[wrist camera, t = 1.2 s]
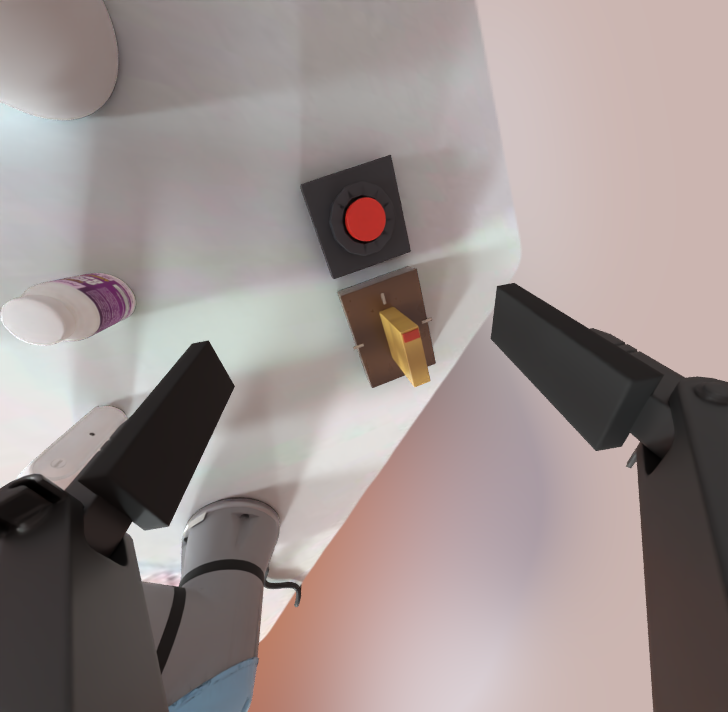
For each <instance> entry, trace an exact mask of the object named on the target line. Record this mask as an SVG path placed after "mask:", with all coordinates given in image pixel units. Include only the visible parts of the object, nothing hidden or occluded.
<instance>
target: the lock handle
mask: <svg viewBox="0 0 728 712" xmlns="http://www.w3.org/2000/svg"><path fill="white" fill-rule="evenodd" d="M379 313H380V317H381V320H382V324H383V327H384V331H385V334H386V338H387V341H388V345H389V348H390V352H391V355H392V358H393V359H394V361H395V362H396V363H397V365H398V366H399V367H400V369H401V370H402V371H403V373H404V374H405V375H406V377H407V378H408V379H409V381H410V382H411V383H412V385H413V386H414V387H417V386H419V385H422V384H424V383H427V382H429V381H430V376H429V372H428V367H427V363H426V358H425V354H424V349H423V345H422V340H421V336H420V331H419V327H418V325H417V324H415V323H414V322H413V321H411V320H410V319H409V318H408V317H406V316H405V315H404V314H402V313H401V312H400V311H399V310H397V309H396V308H395V307H391V308H388V309H386V310H383V311H380V312H379Z"/></svg>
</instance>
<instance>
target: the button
mask: <svg viewBox="0 0 728 712" xmlns="http://www.w3.org/2000/svg"><path fill="white" fill-rule="evenodd" d="M385 222H386V216H385V212H384V209H383V207H382V206H381V204H380V203H379V202H378V201H376V200H375V199H373V198H369V197H364V198H360V199H358V200H356V201H354V202H353V203H352V204H351V205H350V206H349V207H348V209H347V211H346V215H345V225H346V228H347V230H348V232H349V234H350V235H351V236H352V237H354V238H355V239H357V240H361V241H371V240H374V239H376V238H377V237H378V236H379V235H380V234H381V233H382V231H383V229H384V227H385Z"/></svg>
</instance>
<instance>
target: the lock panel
mask: <svg viewBox="0 0 728 712" xmlns="http://www.w3.org/2000/svg"><path fill="white" fill-rule="evenodd" d="M337 293H338V296H339V299H340V302H341V304H342V307H343V310H344V313H345V316H346V319H347V322H348V324H349V327H350V330H351V333H352V336H353V339H354V341H355V344H356V346H354V347H353V348H354V350H355V349H357V350H358V353H359V356H360V359H361V361H362V364H363V367H364V370H365V373H366V376H367V378H368V380H369V383H370V385H371V387H372V388H374V387H377V386H379V385H382V384H384V383H387V382H389V381H392V380H394V379H397V378H400V377H402V376H405V374H404V373H403V371H402V370H401V369H400V367H399V366H398V365H397V363H396V362H395V361H394V359H393V358H392V355H391V352H390V348H389V345H388V341H387V338H386V334H385V331H384V327H383V324H382V320H381V317H380V313H379V312H380V311H383V310H386V309H388V308H391V307H395V308H396V309H397V310H399V311H400V312H401V313H402V314H404V315H405V316H406V317H408V318H409V319H410V320H411V321H413V322H414V323H415V324H417V325H418V327H419V331H420V336H421V340H422V345H423V349H424V354H425V358H426V363H427V367H428V366H430V365H433V364H435V363H436V362H435V357H434V352H433V347H432V342H431V337H430V332H429V327H428V322H429V321H431V320H432V318H428V319H427V318H426V313H425V308H424V303H423V298H422V293H421V288H420V283H419V278H418V273H417V269H415V268H412V267H409V266H407V267H404V268H401V269H398V270H396V271H393V272H390V273H387V274H385V275H382V276H379V277H376V278H374V279H371V280H368V281H365V282H362V283H360V284H357V285H354V286H351V287H349V288H346V289H343V290H340V291H338V292H337Z"/></svg>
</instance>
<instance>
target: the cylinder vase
mask: <svg viewBox="0 0 728 712" xmlns="http://www.w3.org/2000/svg"><path fill="white" fill-rule="evenodd" d="M117 74H118V47H117V41H116V36H115V32H114V28H113V25H112V22H111V19H110V16H109V13H108V11H107V8H106V6H105V4H104V1H103V0H0V102H1V103H3V104H6V105H8V106H10V107H12V108H15V109H17V110H19V111H22V112H24V113H27V114H30V115H33V116H37V117H41V118H45V119H51V120H74V119H79V118H83V117H85V116H88V115H90V114H92V113H94V112H95V111H97V110H98V109H99V108H101V107H102V106H103V105H104V104H105V102H106V101H107V100H108V98H109V97H110V95H111V93H112V91H113V89H114V86H115V83H116V80H117Z"/></svg>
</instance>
